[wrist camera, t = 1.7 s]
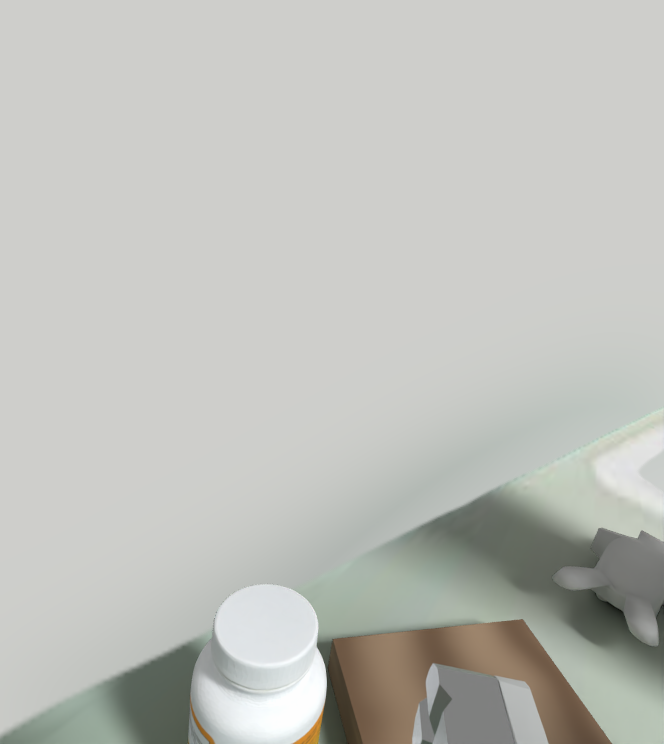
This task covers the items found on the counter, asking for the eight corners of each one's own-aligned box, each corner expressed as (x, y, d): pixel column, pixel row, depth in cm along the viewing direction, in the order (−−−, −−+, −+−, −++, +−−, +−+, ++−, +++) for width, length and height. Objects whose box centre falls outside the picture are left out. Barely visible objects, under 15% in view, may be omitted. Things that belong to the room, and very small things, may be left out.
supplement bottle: (325, 757, 29) (355, 596, 25) (278, 890, 23) (306, 709, 19) (225, 711, 31) (238, 554, 27) (158, 826, 25) (163, 647, 21)
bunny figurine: (737, 564, 44) (682, 622, 34) (712, 614, 46) (653, 683, 36) (624, 506, 51) (551, 540, 41) (605, 551, 52) (530, 594, 42)
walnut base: (513, 645, 38) (522, 619, 37) (641, 838, 27) (657, 807, 26) (327, 668, 34) (332, 639, 33) (389, 902, 23) (399, 868, 23)
